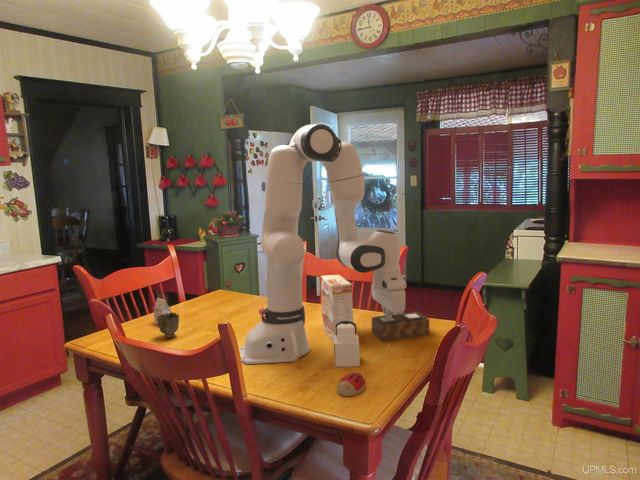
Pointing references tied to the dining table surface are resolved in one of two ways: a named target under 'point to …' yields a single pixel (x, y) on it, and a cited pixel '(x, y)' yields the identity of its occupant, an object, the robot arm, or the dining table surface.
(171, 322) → the cup
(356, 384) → the ladybug figurine
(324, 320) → the coffeecake box
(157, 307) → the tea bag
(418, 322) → the walnut block
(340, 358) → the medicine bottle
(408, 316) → the peg far cream
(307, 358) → the dining table surface
